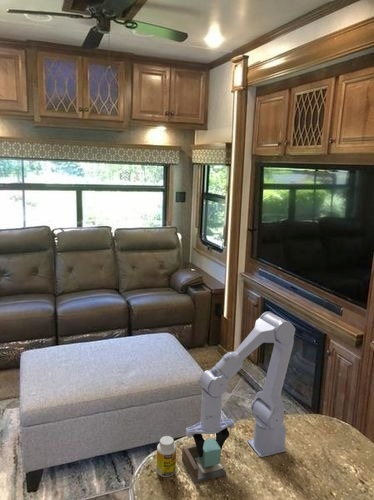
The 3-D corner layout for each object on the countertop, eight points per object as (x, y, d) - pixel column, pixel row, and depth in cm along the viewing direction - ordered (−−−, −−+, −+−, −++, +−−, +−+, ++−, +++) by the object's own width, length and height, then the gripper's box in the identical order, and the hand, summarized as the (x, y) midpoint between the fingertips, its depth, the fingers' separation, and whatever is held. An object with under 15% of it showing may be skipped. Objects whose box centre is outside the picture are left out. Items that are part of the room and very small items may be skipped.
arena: (212, 452, 130) (212, 439, 129) (226, 475, 121) (226, 461, 120) (181, 459, 126) (182, 446, 125) (194, 483, 117) (194, 469, 116)
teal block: (213, 452, 126) (213, 437, 125) (220, 463, 122) (221, 448, 121) (197, 455, 125) (198, 441, 124) (204, 467, 120) (205, 452, 119)
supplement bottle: (162, 481, 118) (163, 449, 116) (153, 468, 122) (153, 438, 120) (179, 473, 121) (180, 442, 119) (169, 461, 125) (170, 431, 123)
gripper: (227, 399, 126) (225, 439, 129) (182, 408, 121) (181, 449, 124) (238, 412, 120) (235, 454, 123) (191, 422, 115) (189, 465, 118)
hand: (209, 452), depth 123 cm, fingers open, 5 cm apart
